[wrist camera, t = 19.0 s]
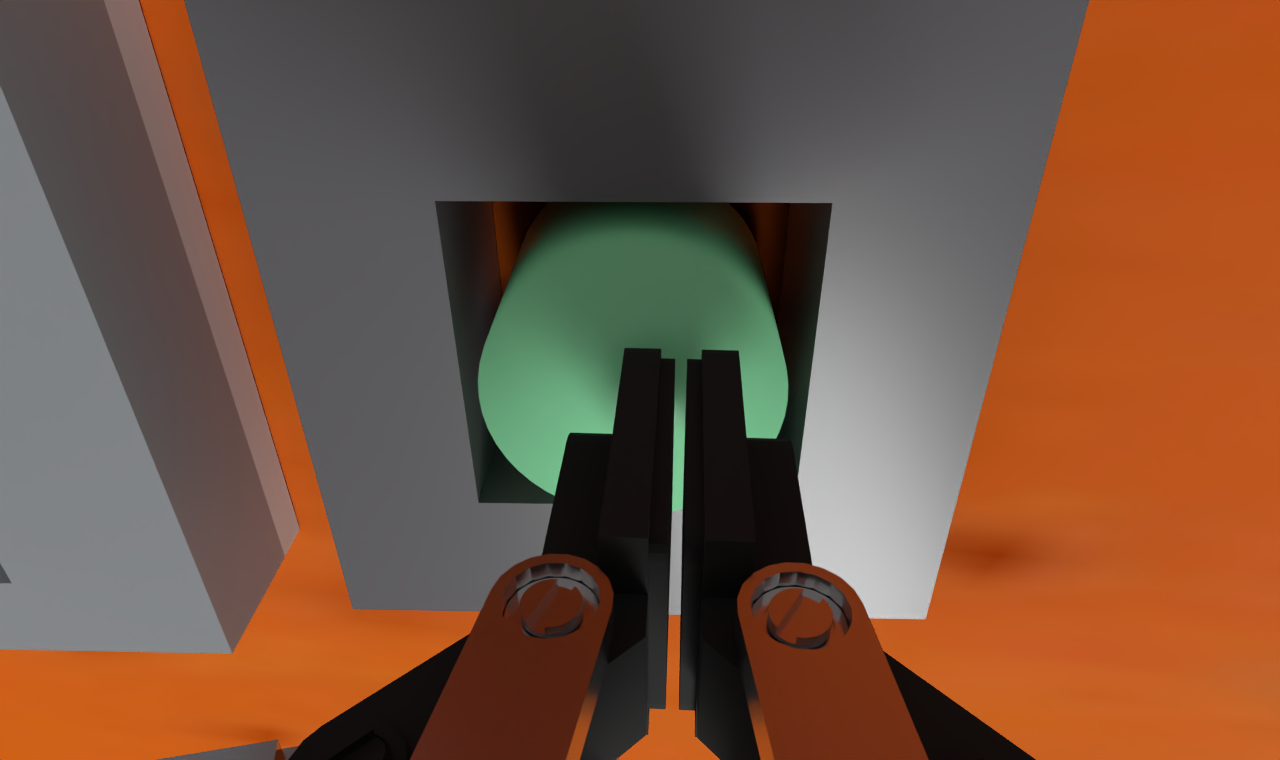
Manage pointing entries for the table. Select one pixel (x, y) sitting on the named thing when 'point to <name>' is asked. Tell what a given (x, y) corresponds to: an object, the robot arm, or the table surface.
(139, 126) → the grey slotted board
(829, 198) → the button housing
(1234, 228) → the table surface
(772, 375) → the button
